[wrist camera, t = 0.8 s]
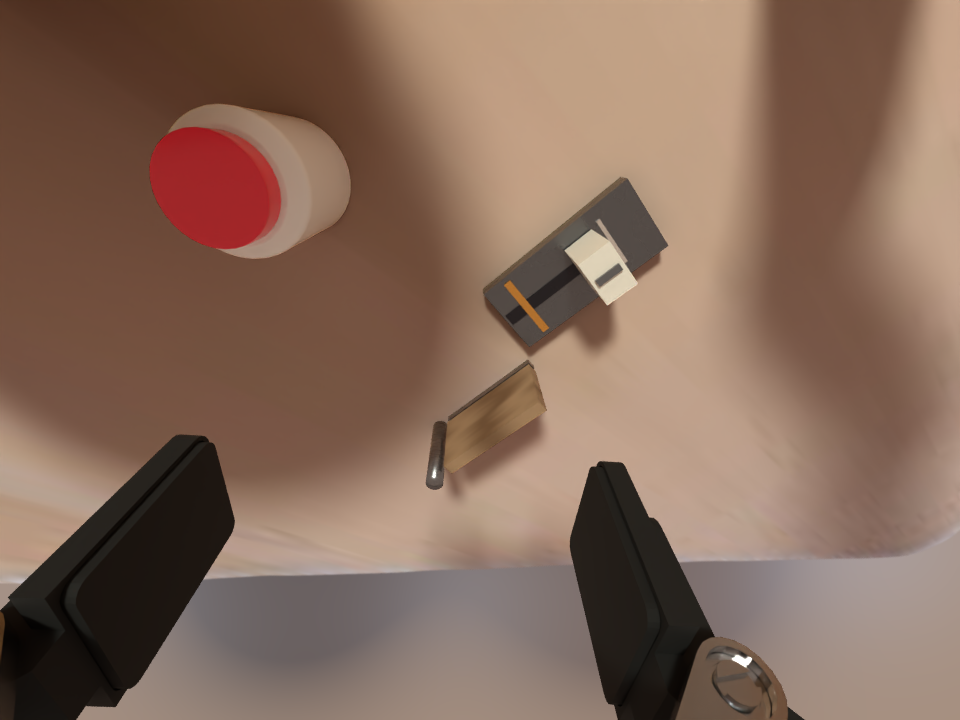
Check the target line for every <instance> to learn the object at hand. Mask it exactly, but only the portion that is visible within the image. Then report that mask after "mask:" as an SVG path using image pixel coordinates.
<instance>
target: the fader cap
mask: <svg viewBox="0 0 960 720" xmlns="http://www.w3.org/2000/svg"><path fill="white" fill-rule="evenodd" d="M564 251H565V252H566V254H567V255H568V256H569V258H570V259H571V260H572V262H573V263H574V265H575V266H576V267H577V269H578V270H579V271H580V273H581V274H582V275H583V277H584V278H585V280H586V281H587V282H588V284H589V285H590V286H591V288H592V289H593V290H594V291H595V292H596V293H597V294H598V296H599V297H600V298H601V299H602V300H603V301H604V302H605V304H606V305H607V306H608V305H609V304H610V303H612V302H613V301H615V300H616V299H617V298H619V297H620V296H621V295H623V294H624V293H626V292H627V291H628V290H630V289H631V288H633V287H634V286H635V285H637V284H638V282H637V281H636V280H635V278H634V277H633V275H632V274H631V272H630V271H629V269H628V268H627V266H626V265H625V263H624V262H623V260H622V259H621V257H620V256H619V254H618V253H617V251H616V250H615V248H614V247H613V245H612V244H611V242H610V241H609V240H607V239H606V238H604V237H603V236H601V235H600V234H598V233H597V232H595V231H594V230H592V229H591V230H590V231H589V232H587V233H586V234H585V235H583V236H582V237H581V238H580V239H578V240H577V241H576V242H575V243H573V244H572V245H571V246H570V247H568V248H567V249H566V250H564Z"/></svg>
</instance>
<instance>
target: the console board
mask: <svg viewBox="0 0 960 720" xmlns="http://www.w3.org/2000/svg"><path fill="white" fill-rule="evenodd" d="M591 229H592V230H594V231H595V232H597V233H598V234H600V235H601V236H603V237H604V238H606V239H607V240H609V241H610V242H611V244H612V245H613V247H614V248H615V250H616V251H617V253H618V254H619V256H620V257H621V259H622V260H623V262H624V263H625V265H626V266H627V268H628V269H629V271H630V272H631V273H632V272H633V271H634V270H636V269H637V268H638V267H640V266H641V265H643V264H644V263H645V262H647V261H648V260H649V259H651V258H652V257H654V256H655V255H656V254H658V253H659V252H660V251H662V250H663V249H664V248H666V247H667V246H668V244H667V243H666V241H665V239H664V238H663V236H662V234H661V233H660V231H659V230H658V228H657V226H656V225H655V223H654V221H653V220H652V218H651V216H650V215H649V213H648V211H647V210H646V208H645V207H644V205H643V203H642V202H641V200H640V198H639V197H638V195H637V193H636V192H635V190H634V189H633V187H632V185H631V184H630V182H629V180H628V179H627V178H621V177H620V178H619V179H618V180H617V181H615V182H614V183H613V184H612V185H610V186H609V187H608V188H607V189H605V190H604V191H603V192H602V193H601V194H599V195H598V196H597V197H596V198H594V199H593V200H592V201H591V202H589V203H588V204H587V205H586V206H585V207H583V208H582V209H581V210H580V211H578V212H577V213H576V214H575V215H573V216H572V217H571V218H570V219H569V220H567V221H566V222H565V223H564V224H562V225H561V226H560V227H559V228H557V229H556V230H555V231H554V232H553V233H551V234H550V235H549V236H548V237H546V238H545V239H544V240H543V241H541V242H540V243H539V244H538V245H537V246H535V247H534V248H533V249H532V250H530V251H529V252H528V253H527V254H526V255H524V256H523V257H522V258H521V259H519V260H518V261H517V262H516V263H514V264H513V265H512V266H511V267H510V268H508V269H507V270H506V271H505V272H503V273H502V274H501V275H500V276H498V277H497V278H496V279H495V280H494V281H492V282H491V283H490V284H489V285H487V286H486V287H485V288H484V289H483V293H484V296H485V297H486V298H487V299H488V300H489V301H490V303H491V304H492V305H493V306H494V307H495V308H496V309H497V311H498V312H499V313H500V314H501V315H502V316H503V318H504V319H505V320H506V321H507V322H508V323H509V324H510V326H511V327H512V328H513V329H514V330H515V331H516V332H517V334H518V335H519V336H520V337H521V338H522V339H523V341H524V342H525V343H526V344H527V345H528V346H529V347H530V346H532V345H533V344H534V343H536V342H537V341H539V340H540V339H541V338H543V337H544V336H545V335H547V334H548V333H550V332H551V331H552V330H554V329H555V328H556V327H558V326H559V325H560V324H562V323H563V322H565V321H566V320H567V319H569V318H570V317H571V316H573V315H574V314H576V313H577V312H578V311H580V310H581V309H582V308H584V307H585V306H586V305H588V304H589V303H591V302H592V301H593V300H595V299H596V298H597V297H599V296H598V294H597V293H596V292H595V291H594V290H593V289H592V288H591V286H590V285H589V284H588V282H587V281H586V280H585V278H584V277H583V275H582V274H581V273H580V271H579V270H578V269H577V267H576V266H575V265H574V263H573V262H572V260H571V259H570V258H569V256H568V255H567V254H566V252H565V251H564V250H566V249H567V248H568V247H570V246H571V245H572V244H573V243H575V242H576V241H577V240H578V239H580V238H581V237H582V236H583V235H585V234H586V233H587V232H589V231H590V230H591Z"/></svg>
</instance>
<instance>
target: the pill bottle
mask: <svg viewBox="0 0 960 720" xmlns="http://www.w3.org/2000/svg"><path fill="white" fill-rule="evenodd" d="M149 168H150V182H151V186H152V191H153V193H154V195H155V198H156V200H157V203H158V204H159V206H160V208H161V209H162V211H163V213H164V214H165V215H166V217H167V218H168V219H169V220H170V221H171V223H172V224H173V225H174V226H175V227H177V228H178V229H179V230H180V231H181V232H182V233H183V234H185V235H186V236H188V237H189V238H191V239H192V240H194V241H196V242H198V243H201V244H203V245H206V246H209V247H212V248H217V249H219V250H221V251H223V252H225V253H227V254H231V255H234V256H237V257H242V258H250V259H260V258H269V257H272V256H276V255H279V254H281V253H283V252H285V251H287V250H289V249H291V248H292V247H294V246H296V245H298V244H300V243H302V242H304V241H305V240H307V239H309V238H311V237H313V236H315V235H316V234H318V233H320V232H322V231H324V230H326V229H327V228H329V227H331V226H333V225H334V224H335V223H336V222H337V221H338V220H339V219H340V218H341V216H342V215H343V213H344V212H345V210H346V208H347V205H348V203H349V199H350V193H351V179H350V174H349V169H348V166H347V163H346V160H345V158H344V156H343V154H342V152H341V151H340V149H339V147H338V146H337V144H336V143H335V142H334V141H333V140H332V138H331V137H330V136H329V135H328V134H327V133H325V132H324V131H323V130H322V129H321V128H319V127H318V126H316V125H314V124H313V123H311V122H309V121H307V120H304V119H301V118H298V117H294V116H289V115H283V114H278V113H273V112H267V111H262V110H257V109H251V108H246V107H240V106H234V105H227V104H208V105H203V106H200V107H197V108H194V109H191V110H189V111H188V112H187V113H185V114H184V115H182V116H181V117H179V118H178V119H177V121H176V122H175V123H174V124H173V125H172V127H171V128H170V129H169V132H168V134H167V135H166V136H164V137H163V138H162V139H161V140H160V142H159V143H158V144H157V145H156V147H155V149H154V151H153V153H152V156H151V161H150V166H149Z"/></svg>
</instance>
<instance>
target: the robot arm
mask: <svg viewBox="0 0 960 720" xmlns="http://www.w3.org/2000/svg"><path fill="white" fill-rule="evenodd" d="M234 523H235V520H234V515H233V511H232V508H231V504H230V500H229V496H228V493H227V489H226V485H225V481H224V478H223V474H222V470H221V466H220V463H219V459H218V455H217V451H216V448H215V445H214V444H213V443H209V440H208V439H207V438H206V437H205V436H195V435H176V436H175V437H173V438H172V439H171V440H170V441H169V442H168V443H167V444H166V445H165V446H164V447H163V448H162V449H161V450H160V451H158V452H157V453H156V454H155V455H154V456H153V457H152V458H151V459H150V460H149V461H148V462H147V463H146V464H145V465H144V466H143V467H142V468H141V469H140V470H139V471H138V472H137V473H136V474H135V475H134V476H133V477H132V478H131V479H130V480H129V481H128V482H126V483H125V484H124V485H123V486H122V487H121V488H120V489H119V490H118V491H117V492H116V493H115V494H114V495H113V496H112V497H111V498H110V499H109V500H108V501H107V502H106V503H105V504H104V505H103V506H102V507H101V508H100V509H99V510H98V511H97V512H95V513H94V514H93V515H92V516H91V517H90V518H89V519H88V520H87V521H86V522H85V523H84V524H83V525H82V526H81V527H80V528H79V529H78V530H77V531H76V532H75V533H74V534H73V535H72V536H71V537H70V538H69V539H68V540H67V541H66V542H65V543H63V544H62V545H61V546H60V547H59V548H58V549H57V550H56V551H55V552H54V553H53V554H52V555H51V556H50V557H49V558H48V559H47V560H46V561H45V562H44V563H43V564H42V565H41V566H40V567H39V568H38V569H37V570H36V571H35V572H34V573H32V574H31V575H30V576H29V577H28V578H27V579H26V580H25V581H24V582H23V583H22V584H21V585H20V586H19V587H18V588H17V589H16V590H15V591H14V592H13V593H12V594H11V595H10V596H9V597H8V598H9V599H10V601H9V602H8V603H7V604H6V605H5V606H4V607H3V608H2V609H1V610H0V720H76V719H77V718H78V716H79V715H80V713H81V712H82V710H83V709H84V707H85V706H97V707H116V706H117V704H118V703H119V701H120V700H121V698H122V696H123V695H124V693H125V692H126V690H127V689H130V688H132V687H134V686H135V685H136V684H137V683H138V682H139V680H140V679H141V678H142V676H143V675H144V673H145V671H146V670H147V668H148V667H149V665H150V663H151V662H152V660H153V658H154V657H155V655H156V654H157V652H158V651H159V649H160V647H161V646H162V644H163V642H164V641H165V639H166V638H167V636H168V635H169V633H170V631H171V630H172V628H173V627H174V625H175V623H176V622H177V620H178V619H179V617H180V615H181V614H182V612H183V611H184V609H185V607H186V605H187V604H188V603H189V601H190V599H191V598H192V596H193V595H194V593H195V591H196V590H197V588H198V587H199V585H200V583H201V582H202V580H203V579H204V577H205V575H206V574H207V572H208V571H209V569H210V567H211V566H212V564H213V563H214V561H215V559H216V558H217V556H218V555H219V553H220V552H221V550H222V548H223V547H224V545H225V544H226V542H227V540H228V539H229V537H230V536H231V534H232V531H233V529H234ZM570 551H571V556H572V560H573V564H574V568H575V573H576V577H577V581H578V585H579V590H580V594H581V598H582V602H583V606H584V611H585V615H586V619H587V623H588V628H589V632H590V636H591V640H592V645H593V649H594V653H595V658H596V662H597V666H598V671H599V675H600V679H601V683H602V687H603V692H604V695H605V698H606V701H607V702H608V704H612V705H614V706H615V710H616V714H617V718H618V720H804V719H803V718H802V717H800V716H799V715H798V714H796V713H795V712H794V711H793V710H791V709H790V708H789V707H787V699H786V696H785V694H784V691H783V688H782V686H781V684H780V682H779V681H778V679H777V678H776V676H775V675H774V673H773V671H772V670H771V669H770V668H769V667H768V666H767V664H766V663H765V662H764V661H763V660H762V659H761V658H760V657H759V656H757V655H756V654H755V653H754V652H752V651H751V650H750V649H749V648H747V647H746V646H744V645H742V644H740V643H738V642H736V641H734V640H731V639H727V638H723V637H715V636H714V634H713V632H712V630H711V628H710V626H709V624H708V622H707V620H706V618H705V616H704V614H703V612H702V610H701V608H700V605H699V603H698V601H697V599H696V597H695V595H694V593H693V591H692V589H691V587H690V585H689V583H688V581H687V579H686V577H685V575H684V573H683V571H682V569H681V566H680V564H679V562H678V560H677V558H676V556H675V554H674V552H673V550H672V548H671V546H670V544H669V542H668V540H667V538H666V536H665V534H664V532H663V530H662V528H661V526H660V524H659V523H658V521H657V520H655V519H654V518H649V517H648V514H647V512H646V510H645V508H644V506H643V504H642V502H641V499H640V497H639V495H638V493H637V491H636V489H635V487H634V484H633V482H632V480H631V478H630V476H629V474H628V472H627V469H626V467H625V466H624V464H623V463H621V462H605V461H600V462H598V464H597V466H596V467H591V468H590V470H589V473H588V477H587V480H586V484H585V488H584V491H583V495H582V498H581V502H580V505H579V509H578V512H577V516H576V519H575V523H574V526H573V530H572V533H571V537H570Z"/></svg>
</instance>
